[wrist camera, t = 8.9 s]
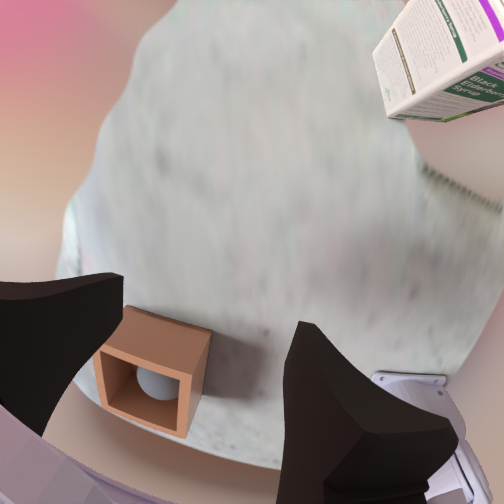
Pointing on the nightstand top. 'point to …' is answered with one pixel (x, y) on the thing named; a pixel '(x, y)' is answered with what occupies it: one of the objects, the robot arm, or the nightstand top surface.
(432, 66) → the syrup box
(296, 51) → the nightstand top surface
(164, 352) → the open square bin
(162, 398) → the ball
